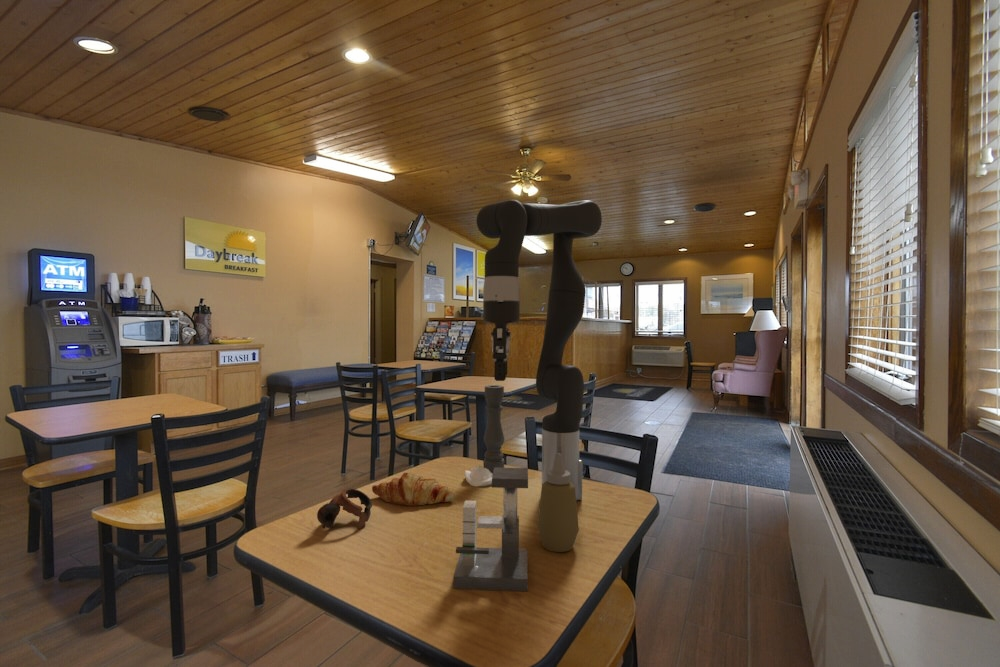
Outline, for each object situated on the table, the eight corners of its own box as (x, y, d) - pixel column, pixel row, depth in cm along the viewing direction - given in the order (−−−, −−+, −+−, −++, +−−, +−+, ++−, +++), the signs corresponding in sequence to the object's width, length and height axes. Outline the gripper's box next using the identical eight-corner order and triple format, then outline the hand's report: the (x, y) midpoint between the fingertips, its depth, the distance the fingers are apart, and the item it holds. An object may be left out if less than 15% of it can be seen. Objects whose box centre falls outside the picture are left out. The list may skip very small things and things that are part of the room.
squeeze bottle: (552, 559, 84) (553, 462, 84) (529, 541, 91) (530, 451, 91) (587, 550, 88) (588, 456, 88) (562, 533, 95) (563, 446, 95)
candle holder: (505, 467, 139) (505, 385, 138) (503, 474, 132) (503, 388, 132) (484, 467, 139) (485, 384, 139) (481, 473, 133) (482, 387, 133)
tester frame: (527, 559, 84) (527, 494, 84) (527, 591, 74) (527, 517, 74) (461, 557, 85) (462, 493, 85) (453, 588, 75) (454, 515, 75)
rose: (454, 465, 127) (479, 458, 134) (454, 481, 127) (479, 473, 134) (480, 473, 120) (505, 465, 127) (480, 490, 120) (505, 481, 127)
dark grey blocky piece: (527, 523, 82) (527, 468, 82) (527, 539, 76) (528, 479, 76) (480, 522, 83) (480, 467, 82) (477, 537, 77) (477, 478, 76)
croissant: (457, 512, 115) (461, 479, 118) (450, 507, 106) (454, 471, 109) (375, 505, 117) (381, 473, 120) (361, 500, 108) (368, 466, 112)
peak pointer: (488, 551, 78) (488, 547, 78) (488, 554, 77) (488, 550, 77) (456, 550, 78) (456, 546, 78) (455, 553, 77) (455, 549, 77)
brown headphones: (340, 514, 105) (358, 483, 105) (365, 541, 101) (384, 509, 101) (298, 520, 95) (319, 486, 95) (324, 551, 90) (346, 515, 90)
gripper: (486, 301, 102) (485, 374, 102) (480, 297, 88) (479, 382, 88) (519, 301, 102) (519, 374, 102) (519, 297, 87) (518, 382, 88)
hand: (501, 378), depth 95 cm, fingers open, 8 cm apart
